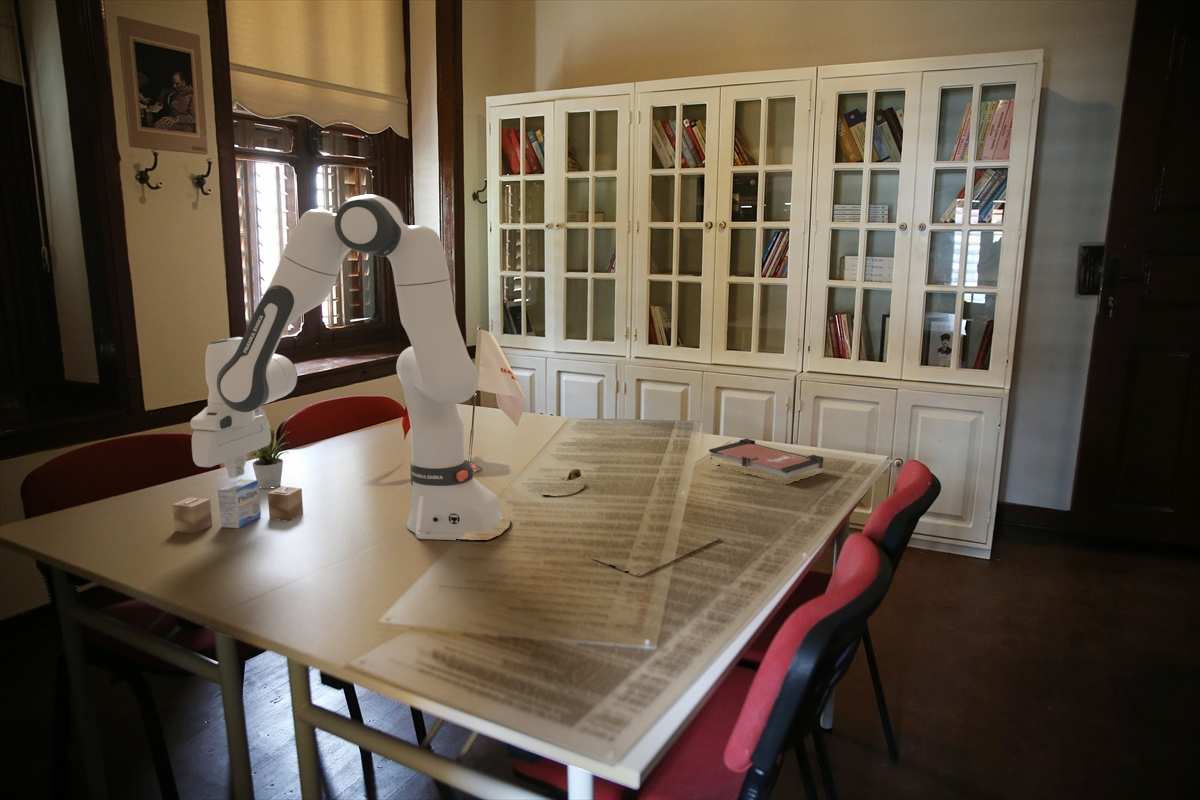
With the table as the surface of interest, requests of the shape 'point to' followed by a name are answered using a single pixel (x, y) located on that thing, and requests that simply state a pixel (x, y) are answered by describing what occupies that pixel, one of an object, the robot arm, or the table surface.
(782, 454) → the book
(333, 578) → the table surface
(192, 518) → the walnut block one
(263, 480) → the house plant
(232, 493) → the medicine box
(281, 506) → the walnut block seven
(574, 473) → the seal
